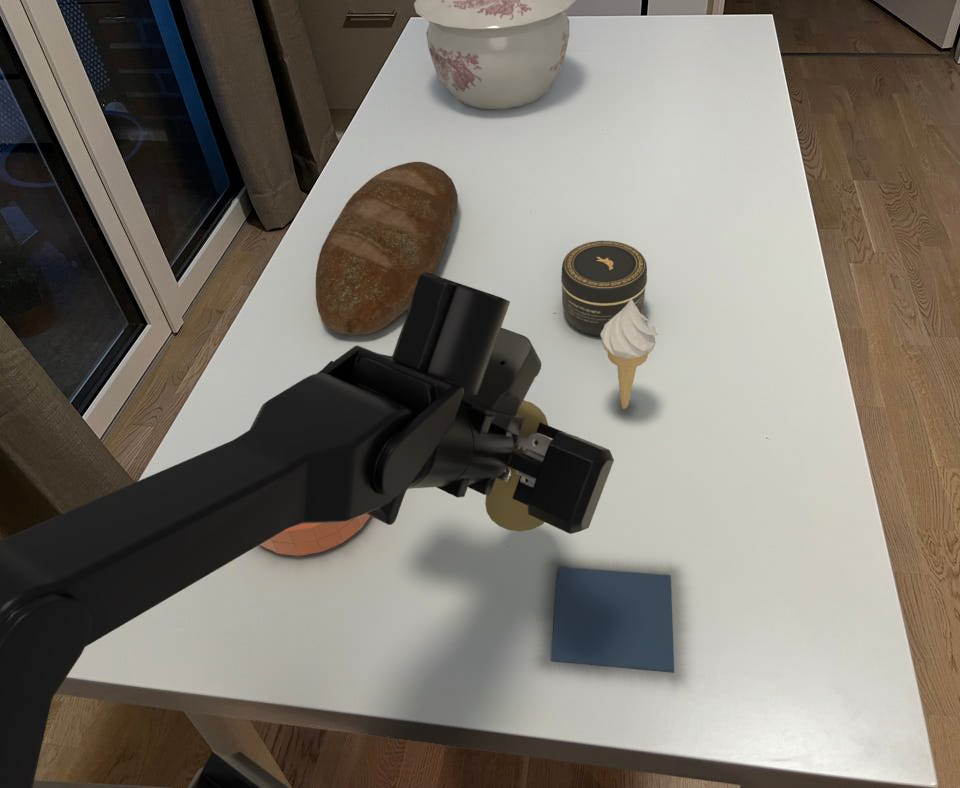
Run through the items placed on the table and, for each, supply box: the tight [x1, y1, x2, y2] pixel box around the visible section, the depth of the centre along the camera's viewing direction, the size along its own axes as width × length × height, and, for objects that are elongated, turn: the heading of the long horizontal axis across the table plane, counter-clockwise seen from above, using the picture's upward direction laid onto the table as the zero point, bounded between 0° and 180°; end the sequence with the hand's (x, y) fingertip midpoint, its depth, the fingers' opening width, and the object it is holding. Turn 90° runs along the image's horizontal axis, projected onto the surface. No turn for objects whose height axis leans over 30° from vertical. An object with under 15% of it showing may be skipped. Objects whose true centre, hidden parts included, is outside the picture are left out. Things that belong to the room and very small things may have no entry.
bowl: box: [259, 514, 371, 557], centre depth 79 cm, size 14×14×4 cm
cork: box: [484, 399, 549, 532], centre depth 65 cm, size 6×6×11 cm
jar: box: [560, 240, 648, 337], centre depth 95 cm, size 10×10×8 cm
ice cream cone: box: [600, 299, 659, 410], centre depth 81 cm, size 6×6×15 cm
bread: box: [315, 161, 459, 336], centre depth 107 cm, size 16×36×8 cm, turn 168°
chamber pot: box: [413, 0, 577, 110], centre depth 137 cm, size 28×28×21 cm
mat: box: [550, 566, 675, 673], centre depth 68 cm, size 10×9×1 cm
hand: (526, 446), depth 66 cm, fingers closed on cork, 5 cm apart
